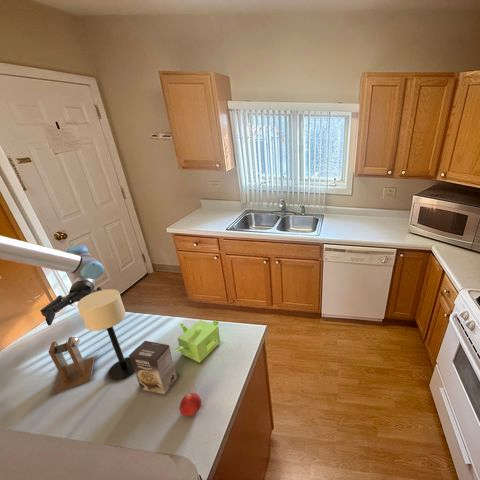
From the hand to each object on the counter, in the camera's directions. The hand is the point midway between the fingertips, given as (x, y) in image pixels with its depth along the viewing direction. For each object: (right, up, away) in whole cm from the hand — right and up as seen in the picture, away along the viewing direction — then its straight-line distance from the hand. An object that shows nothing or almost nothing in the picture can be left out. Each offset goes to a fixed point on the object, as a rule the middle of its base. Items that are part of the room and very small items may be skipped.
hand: (73, 316), depth 95 cm
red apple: (+53, -25, -17) cm, 61 cm away
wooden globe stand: (+9, -18, -8) cm, 22 cm away
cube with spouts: (+46, -15, +4) cm, 48 cm away
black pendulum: (+8, -9, -9) cm, 15 cm away
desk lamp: (+24, -18, -5) cm, 30 cm away
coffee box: (+39, -21, -10) cm, 45 cm away
